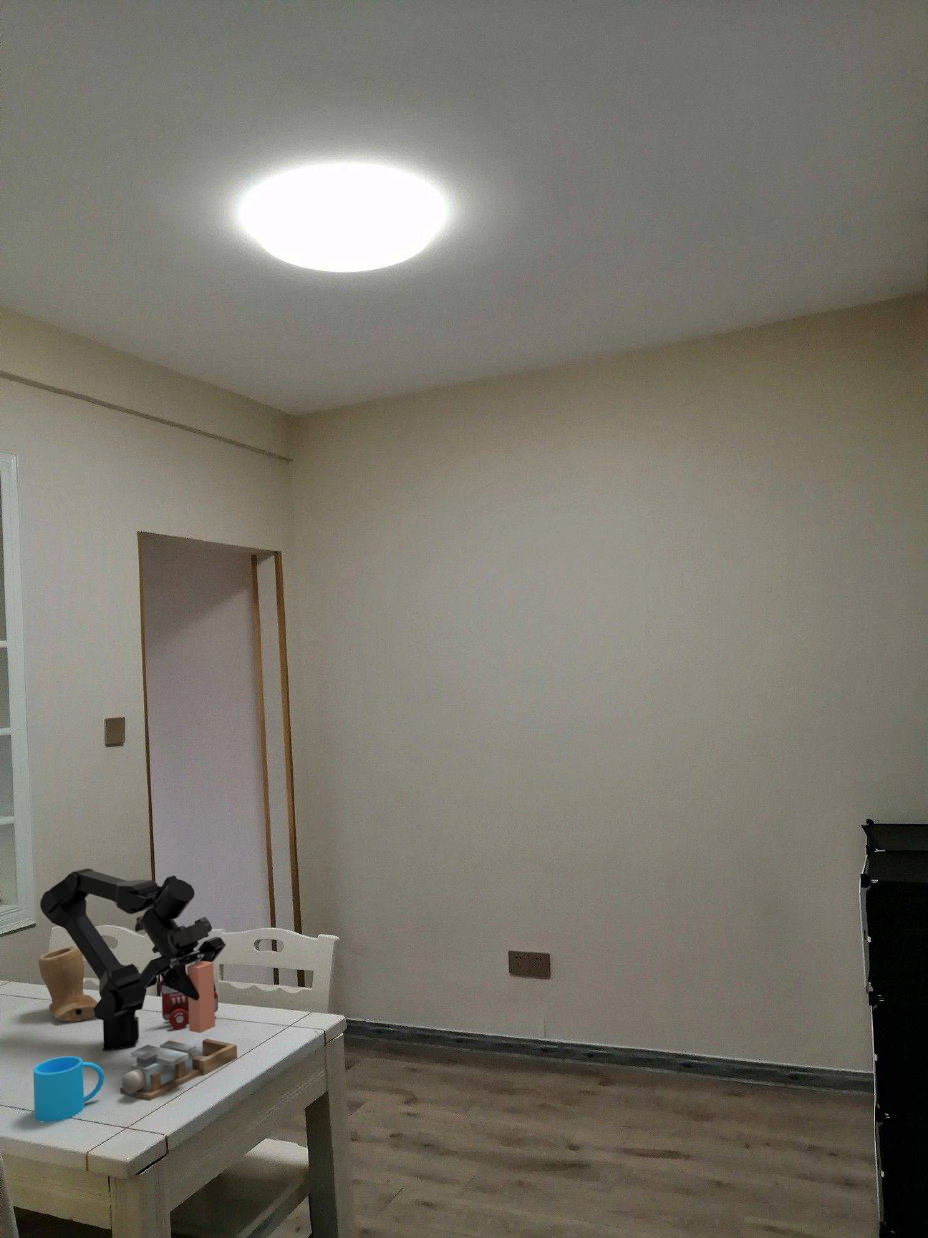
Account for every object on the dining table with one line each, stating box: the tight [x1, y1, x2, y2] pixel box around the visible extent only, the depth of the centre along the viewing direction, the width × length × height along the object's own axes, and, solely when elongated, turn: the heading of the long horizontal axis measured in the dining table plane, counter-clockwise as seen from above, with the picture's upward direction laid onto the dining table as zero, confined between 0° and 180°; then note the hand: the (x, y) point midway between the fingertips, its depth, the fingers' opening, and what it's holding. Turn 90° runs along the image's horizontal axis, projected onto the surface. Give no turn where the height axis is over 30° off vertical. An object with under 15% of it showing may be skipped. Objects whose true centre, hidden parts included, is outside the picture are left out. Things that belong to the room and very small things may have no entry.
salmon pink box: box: [186, 961, 216, 1034], centre depth 197 cm, size 3×4×12 cm
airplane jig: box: [119, 1038, 238, 1101], centre depth 191 cm, size 23×11×6 cm, turn 149°
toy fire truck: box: [158, 978, 219, 1030], centre depth 220 cm, size 7×12×10 cm, turn 114°
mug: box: [32, 1055, 105, 1123], centre depth 178 cm, size 12×8×8 cm
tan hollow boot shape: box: [38, 945, 98, 1023], centre depth 229 cm, size 15×12×15 cm
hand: (206, 995), depth 197 cm, fingers closed on salmon pink box, 4 cm apart
